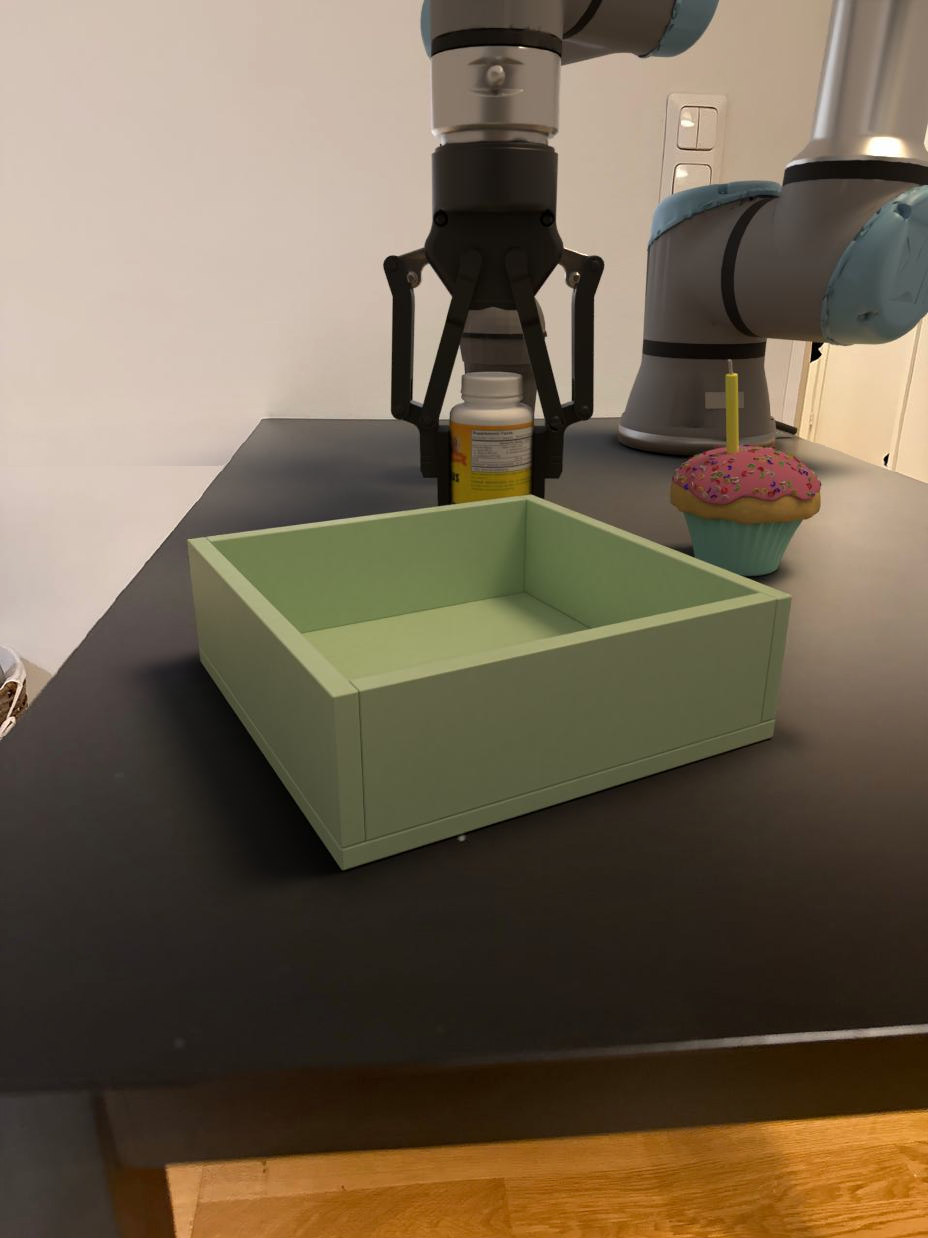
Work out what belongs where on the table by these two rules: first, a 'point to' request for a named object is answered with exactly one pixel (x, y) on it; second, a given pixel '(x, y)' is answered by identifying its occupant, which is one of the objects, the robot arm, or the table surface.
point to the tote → (477, 663)
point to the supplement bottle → (491, 439)
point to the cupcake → (743, 499)
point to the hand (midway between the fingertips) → (490, 524)
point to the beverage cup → (499, 346)
